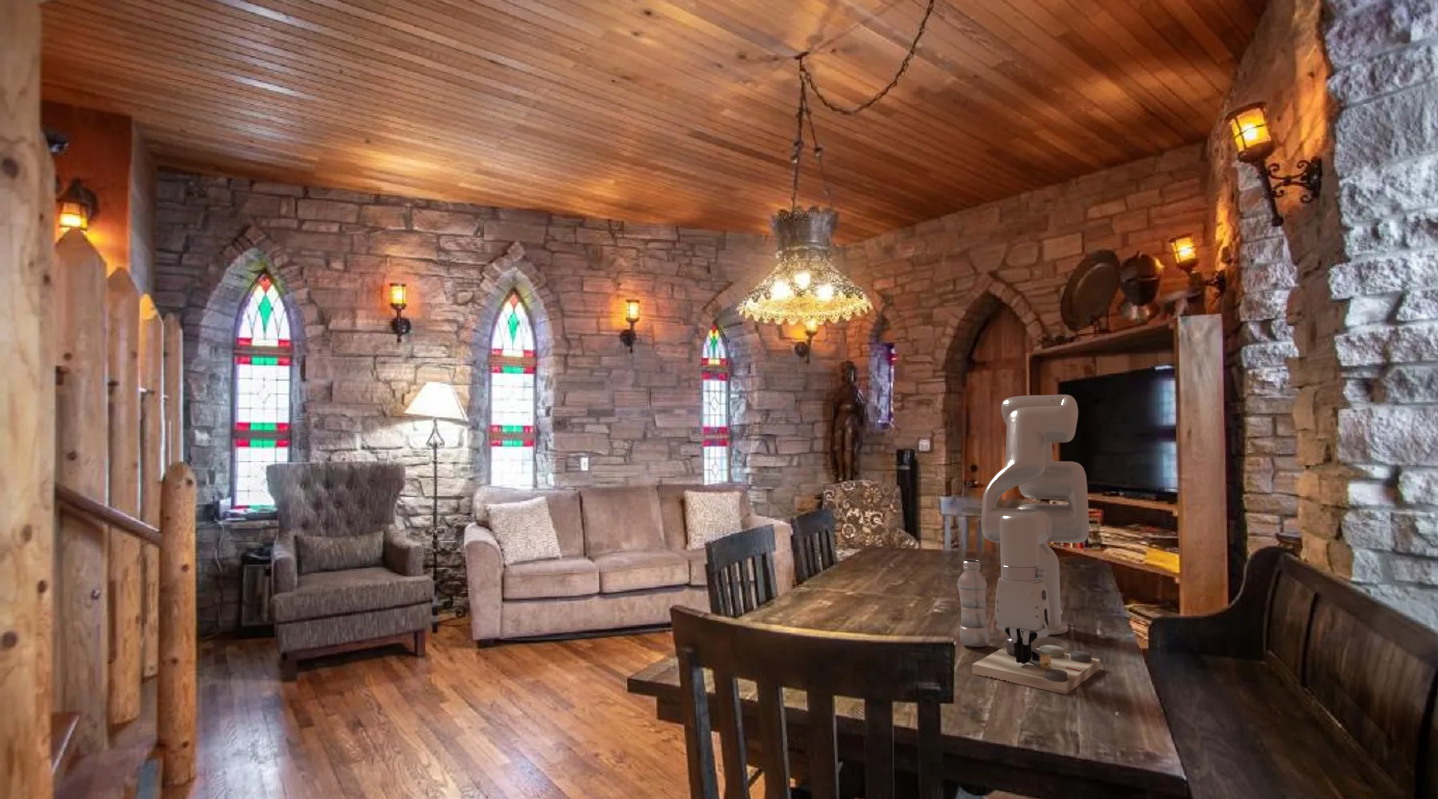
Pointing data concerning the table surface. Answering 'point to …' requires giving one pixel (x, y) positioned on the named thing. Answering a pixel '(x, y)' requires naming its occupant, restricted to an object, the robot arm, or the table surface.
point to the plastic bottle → (973, 605)
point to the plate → (1058, 679)
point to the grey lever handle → (1037, 655)
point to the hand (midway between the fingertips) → (1023, 661)
